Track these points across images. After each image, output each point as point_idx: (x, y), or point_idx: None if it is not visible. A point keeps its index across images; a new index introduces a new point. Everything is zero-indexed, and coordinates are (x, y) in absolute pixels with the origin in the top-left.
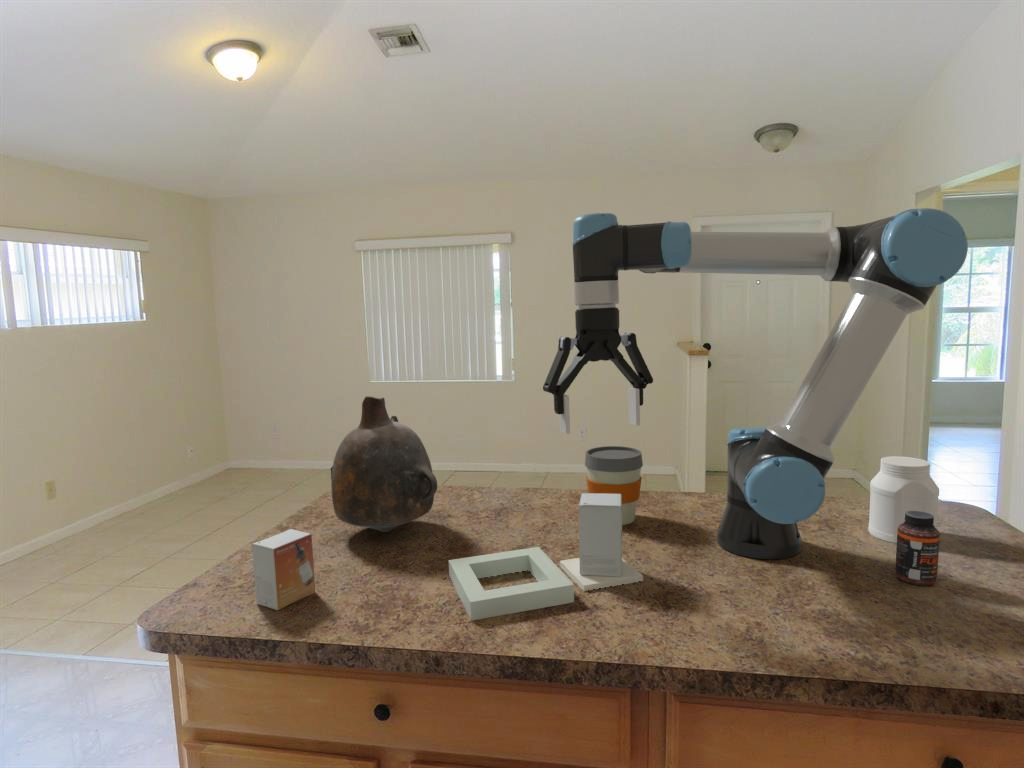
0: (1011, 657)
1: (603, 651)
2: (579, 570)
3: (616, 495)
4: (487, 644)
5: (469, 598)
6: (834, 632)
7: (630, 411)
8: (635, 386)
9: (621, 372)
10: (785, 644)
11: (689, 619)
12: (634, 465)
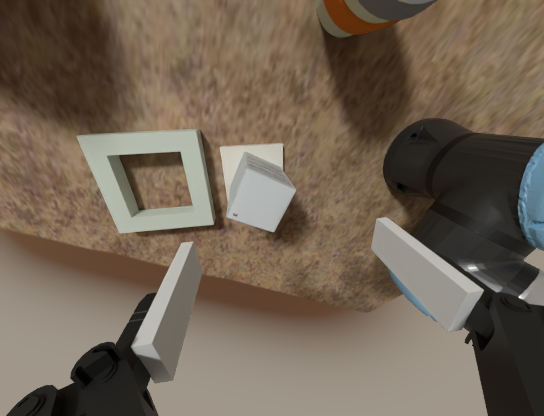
0: (390, 300)
1: (218, 271)
2: (233, 176)
3: (287, 196)
4: (143, 254)
5: (118, 227)
6: (345, 275)
7: (396, 245)
8: (477, 319)
9: (522, 385)
10: (314, 280)
11: (283, 252)
12: (419, 11)
